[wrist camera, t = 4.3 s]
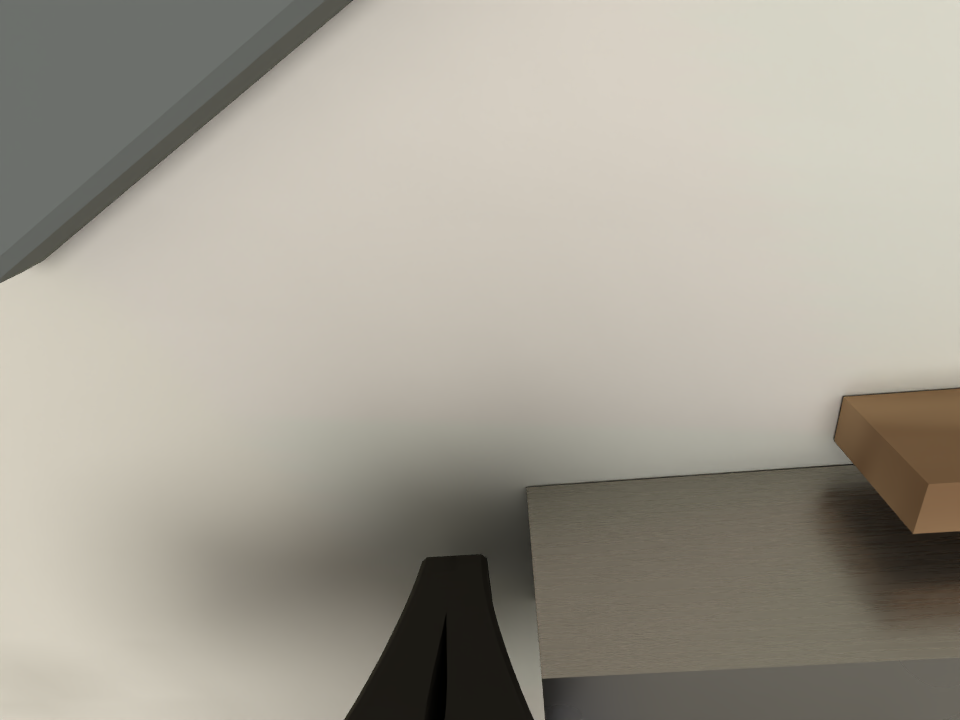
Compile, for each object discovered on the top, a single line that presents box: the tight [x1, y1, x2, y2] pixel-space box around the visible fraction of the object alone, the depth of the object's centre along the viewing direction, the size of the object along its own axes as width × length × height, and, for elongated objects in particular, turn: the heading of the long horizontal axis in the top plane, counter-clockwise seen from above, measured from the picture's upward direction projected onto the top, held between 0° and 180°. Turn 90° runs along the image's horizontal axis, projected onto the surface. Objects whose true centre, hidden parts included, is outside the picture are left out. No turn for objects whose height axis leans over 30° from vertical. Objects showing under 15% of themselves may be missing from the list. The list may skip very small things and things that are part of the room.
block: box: [526, 465, 960, 720], centre depth 11 cm, size 3×8×4 cm, turn 96°
